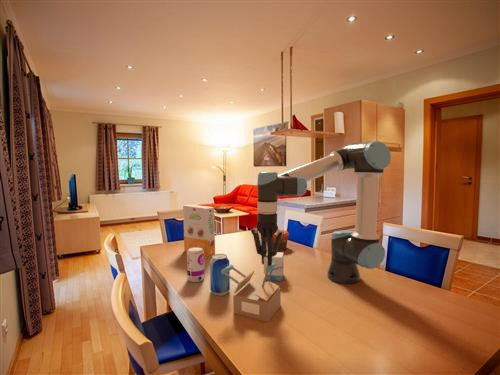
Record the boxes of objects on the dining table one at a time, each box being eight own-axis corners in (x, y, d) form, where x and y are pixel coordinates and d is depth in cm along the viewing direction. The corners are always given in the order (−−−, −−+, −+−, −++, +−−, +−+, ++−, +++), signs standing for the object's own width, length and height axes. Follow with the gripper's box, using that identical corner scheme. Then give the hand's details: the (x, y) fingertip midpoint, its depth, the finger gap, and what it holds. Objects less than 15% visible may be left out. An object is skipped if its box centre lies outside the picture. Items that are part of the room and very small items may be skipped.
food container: (290, 251, 181) (290, 234, 180) (265, 251, 181) (265, 234, 181) (287, 244, 197) (287, 229, 196) (264, 244, 197) (264, 229, 196)
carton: (280, 305, 111) (280, 288, 110) (268, 322, 99) (268, 302, 99) (248, 298, 117) (248, 282, 116) (233, 313, 105) (233, 295, 105)
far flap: (255, 270, 115) (238, 258, 118) (239, 282, 102) (221, 269, 105) (249, 280, 116) (233, 269, 119) (233, 294, 104) (215, 281, 107)
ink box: (282, 281, 134) (282, 257, 133) (264, 280, 136) (264, 256, 135) (283, 274, 142) (283, 252, 142) (267, 273, 144) (267, 251, 143)
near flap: (279, 286, 111) (285, 267, 110) (266, 301, 99) (273, 280, 97) (266, 280, 114) (272, 261, 112) (252, 294, 101) (259, 273, 99)
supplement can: (207, 277, 139) (207, 247, 138) (197, 284, 132) (197, 252, 131) (194, 275, 143) (193, 246, 142) (183, 281, 135) (183, 250, 134)
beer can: (214, 298, 118) (213, 260, 117) (207, 290, 125) (207, 255, 124) (232, 293, 122) (232, 257, 120) (225, 286, 129) (224, 252, 128)
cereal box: (215, 255, 174) (214, 207, 172) (207, 258, 169) (206, 208, 167) (192, 248, 188) (190, 204, 186) (184, 251, 184) (183, 205, 181)
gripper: (286, 212, 108) (285, 272, 110) (255, 209, 113) (255, 267, 115) (280, 215, 101) (279, 279, 103) (247, 212, 107) (247, 273, 108)
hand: (266, 272), depth 109 cm, fingers closed
